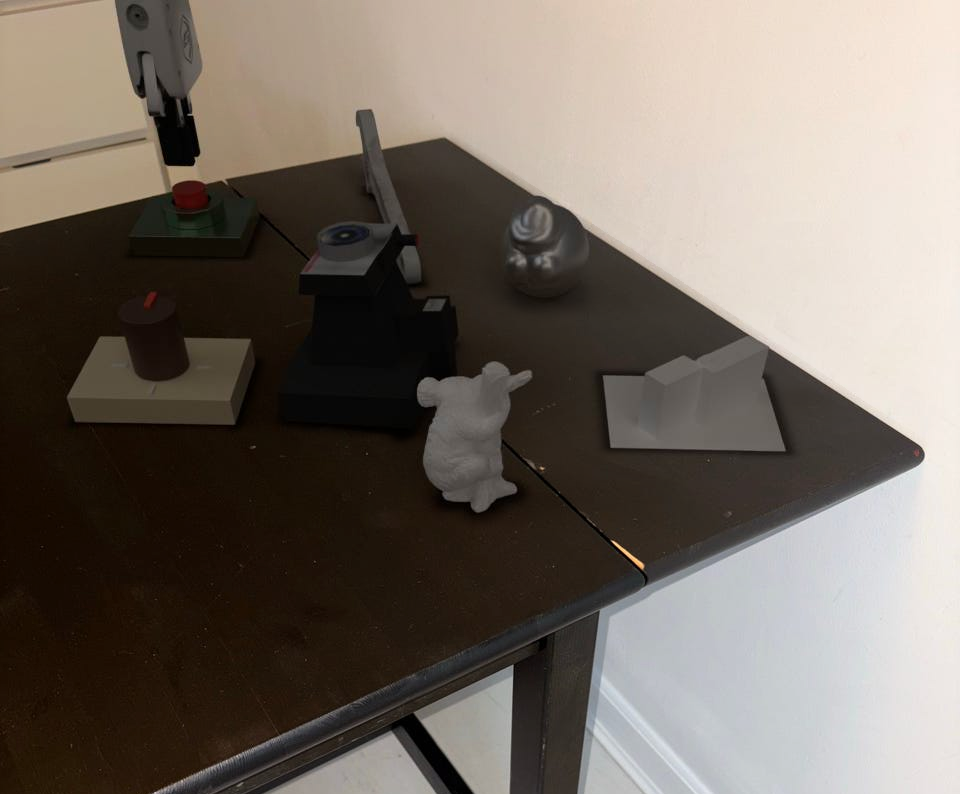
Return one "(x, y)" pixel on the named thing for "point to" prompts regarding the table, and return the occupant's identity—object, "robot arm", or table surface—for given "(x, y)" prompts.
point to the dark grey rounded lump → (544, 248)
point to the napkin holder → (696, 403)
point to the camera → (366, 333)
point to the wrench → (385, 191)
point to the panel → (164, 385)
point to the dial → (154, 337)
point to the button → (190, 194)
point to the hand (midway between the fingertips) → (182, 159)
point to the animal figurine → (469, 434)
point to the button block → (195, 227)
